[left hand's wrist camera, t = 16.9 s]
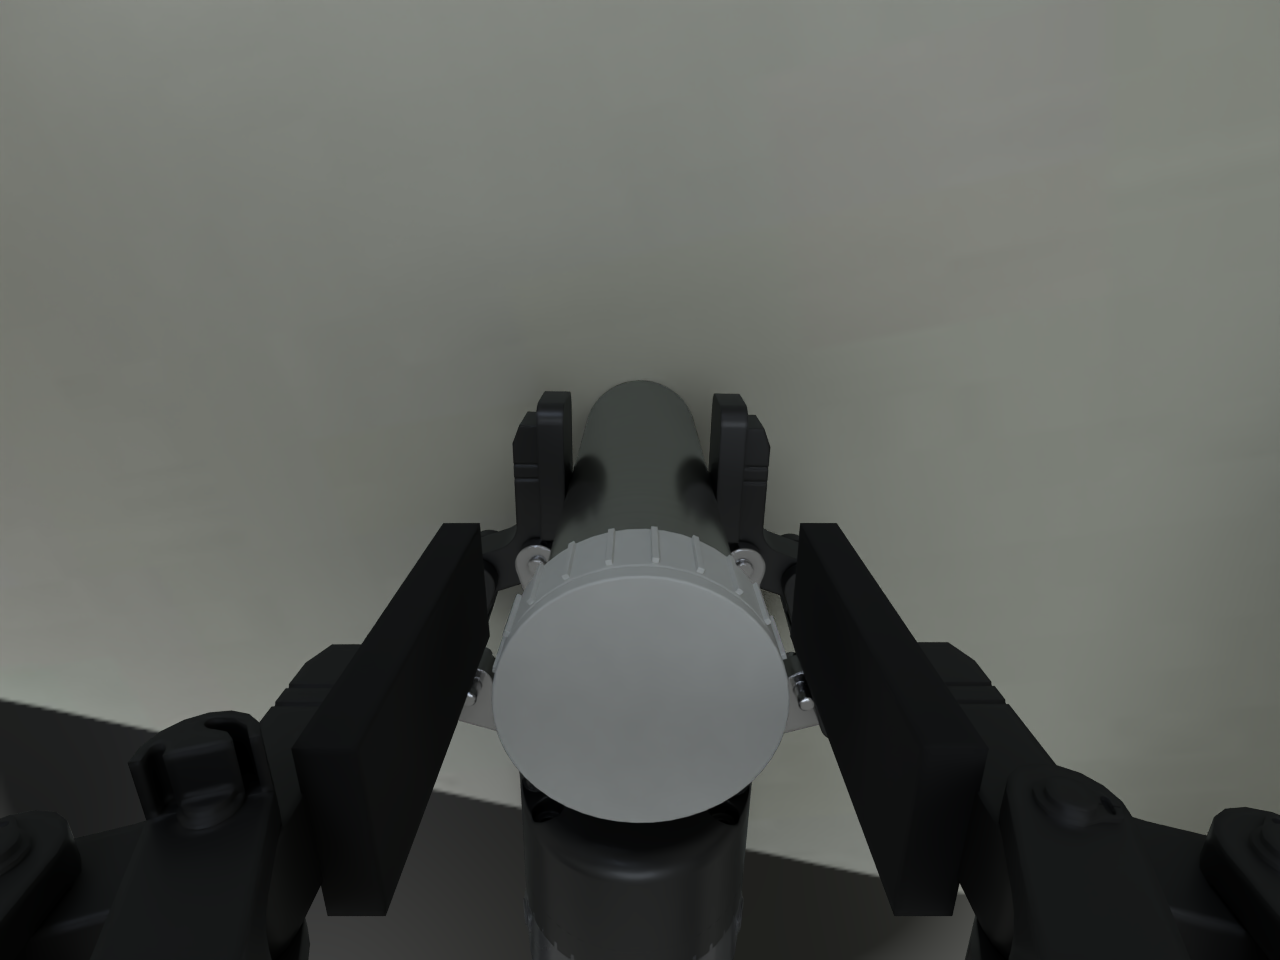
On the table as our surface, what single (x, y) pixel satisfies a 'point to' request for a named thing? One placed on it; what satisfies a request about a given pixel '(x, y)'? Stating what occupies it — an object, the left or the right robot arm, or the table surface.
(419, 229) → the table surface
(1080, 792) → the left robot arm
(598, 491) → the metal cylinder tube
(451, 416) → the table surface
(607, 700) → the lid
